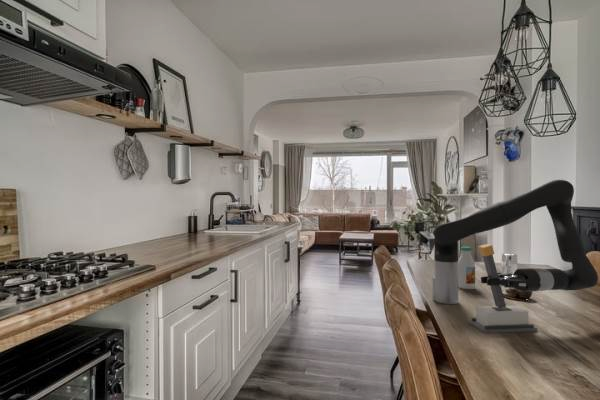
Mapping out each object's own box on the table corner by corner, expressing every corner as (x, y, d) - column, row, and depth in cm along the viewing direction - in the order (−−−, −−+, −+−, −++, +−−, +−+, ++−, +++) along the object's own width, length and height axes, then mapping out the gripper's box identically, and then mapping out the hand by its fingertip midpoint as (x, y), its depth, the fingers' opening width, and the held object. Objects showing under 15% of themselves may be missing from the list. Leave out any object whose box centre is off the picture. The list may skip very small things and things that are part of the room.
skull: (499, 296, 148) (501, 276, 154) (503, 308, 154) (504, 288, 160) (532, 300, 141) (533, 278, 147) (535, 312, 147) (535, 291, 152)
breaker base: (517, 321, 120) (517, 303, 120) (537, 331, 111) (537, 312, 111) (468, 323, 119) (468, 305, 119) (484, 332, 110) (483, 313, 110)
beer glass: (503, 281, 180) (502, 252, 181) (518, 283, 176) (518, 254, 176) (500, 283, 175) (500, 254, 175) (516, 285, 171) (516, 255, 171)
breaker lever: (501, 303, 117) (486, 244, 116) (508, 306, 113) (492, 245, 113) (493, 306, 116) (478, 246, 116) (499, 308, 113) (483, 247, 113)
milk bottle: (459, 289, 165) (459, 247, 165) (456, 285, 172) (455, 245, 172) (477, 290, 163) (476, 248, 163) (473, 286, 170) (472, 246, 171)
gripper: (518, 264, 123) (472, 265, 121) (549, 272, 109) (497, 274, 108) (518, 285, 123) (472, 287, 121) (550, 296, 109) (498, 298, 108)
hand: (484, 281), depth 115 cm, fingers closed on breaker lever, 2 cm apart
